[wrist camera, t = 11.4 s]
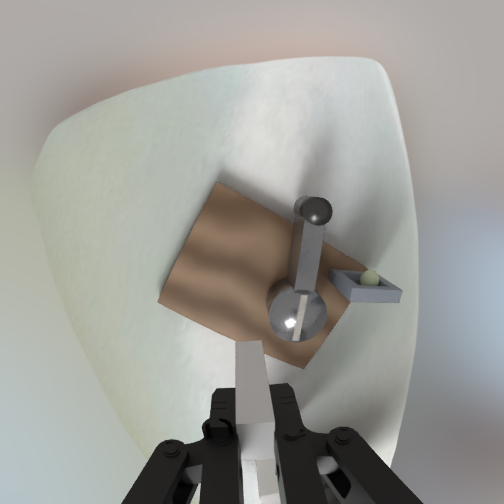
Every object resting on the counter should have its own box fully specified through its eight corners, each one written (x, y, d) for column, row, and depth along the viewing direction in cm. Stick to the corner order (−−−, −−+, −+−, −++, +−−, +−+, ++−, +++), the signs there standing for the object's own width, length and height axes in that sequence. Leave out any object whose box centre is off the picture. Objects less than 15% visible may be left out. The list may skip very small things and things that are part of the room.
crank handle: (311, 325, 38) (323, 347, 32) (262, 323, 37) (267, 345, 32) (333, 200, 34) (350, 202, 29) (279, 192, 34) (288, 192, 28)
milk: (293, 417, 44) (318, 516, 23) (262, 427, 45) (275, 526, 23) (283, 397, 43) (308, 504, 22) (250, 408, 43) (260, 515, 22)
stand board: (301, 363, 42) (303, 370, 40) (159, 297, 38) (156, 302, 36) (365, 267, 39) (370, 270, 37) (218, 182, 35) (217, 181, 33)
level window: (372, 283, 37) (399, 302, 30) (328, 280, 37) (349, 301, 29) (376, 265, 37) (404, 281, 29) (332, 260, 36) (354, 278, 29)
